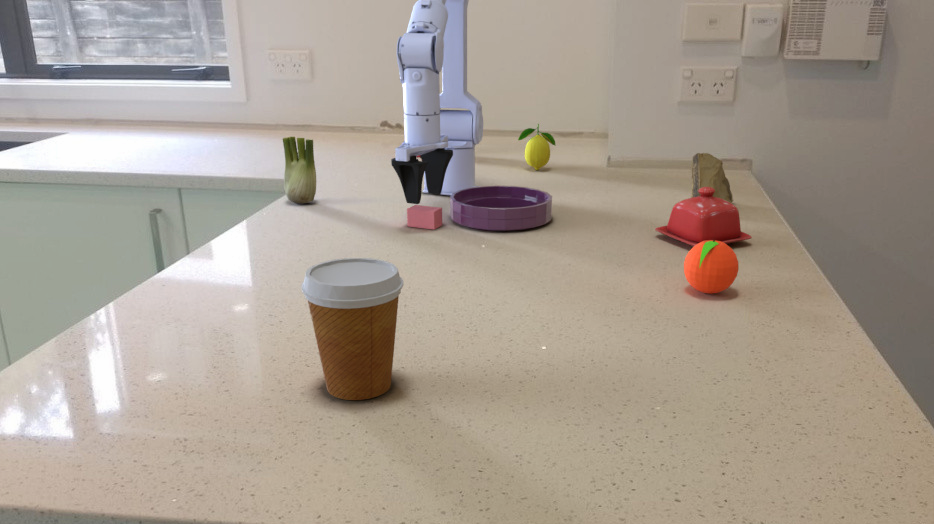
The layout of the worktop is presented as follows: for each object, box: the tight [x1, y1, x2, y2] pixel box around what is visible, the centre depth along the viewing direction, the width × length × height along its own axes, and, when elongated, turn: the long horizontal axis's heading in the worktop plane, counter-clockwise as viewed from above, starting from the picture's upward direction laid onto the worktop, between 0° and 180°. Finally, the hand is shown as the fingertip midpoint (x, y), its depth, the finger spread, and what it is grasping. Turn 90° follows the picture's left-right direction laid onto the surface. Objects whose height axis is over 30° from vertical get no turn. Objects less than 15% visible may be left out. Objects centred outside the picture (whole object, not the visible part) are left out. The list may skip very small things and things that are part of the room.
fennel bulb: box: [282, 136, 317, 205], centre depth 151 cm, size 6×5×12 cm
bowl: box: [449, 185, 553, 232], centre depth 143 cm, size 17×17×4 cm
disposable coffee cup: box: [300, 257, 404, 401], centre depth 81 cm, size 10×10×12 cm
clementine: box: [683, 239, 740, 295], centre depth 108 cm, size 8×7×7 cm
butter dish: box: [654, 187, 753, 248], centre depth 131 cm, size 12×12×8 cm
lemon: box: [517, 123, 556, 171], centre depth 181 cm, size 7×6×10 cm
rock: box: [690, 152, 734, 204], centre depth 152 cm, size 11×9×10 cm
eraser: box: [406, 204, 443, 230], centre depth 139 cm, size 5×3×3 cm, turn 68°
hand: (424, 198), depth 138 cm, fingers open, 7 cm apart
